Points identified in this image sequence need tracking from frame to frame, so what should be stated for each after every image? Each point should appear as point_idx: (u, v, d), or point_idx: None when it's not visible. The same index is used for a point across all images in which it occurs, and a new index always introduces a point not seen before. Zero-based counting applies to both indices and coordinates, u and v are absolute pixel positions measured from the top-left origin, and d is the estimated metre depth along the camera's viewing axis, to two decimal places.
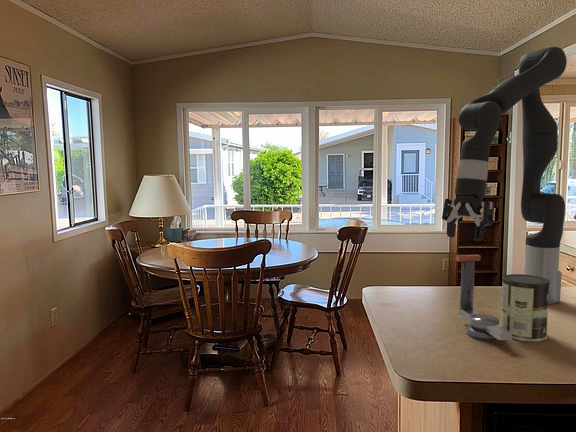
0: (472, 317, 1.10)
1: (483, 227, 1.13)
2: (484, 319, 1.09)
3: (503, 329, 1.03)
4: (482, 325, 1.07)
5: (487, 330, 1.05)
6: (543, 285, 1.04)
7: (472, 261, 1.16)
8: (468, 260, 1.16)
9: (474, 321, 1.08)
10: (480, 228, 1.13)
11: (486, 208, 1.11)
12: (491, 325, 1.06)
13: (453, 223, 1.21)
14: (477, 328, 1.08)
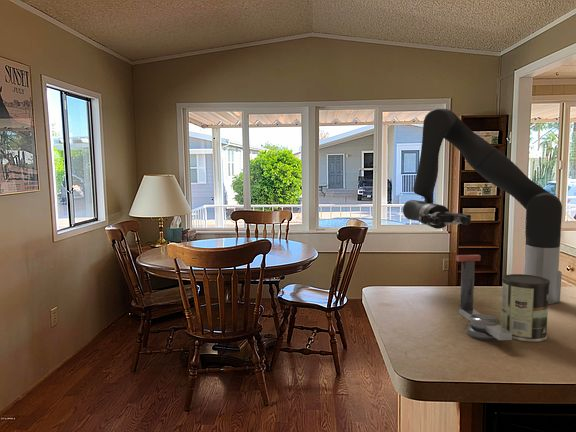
0: (472, 317, 1.10)
1: (430, 219, 1.30)
2: (484, 319, 1.09)
3: (503, 329, 1.03)
4: (482, 325, 1.07)
5: (487, 330, 1.05)
6: (543, 285, 1.04)
7: (472, 261, 1.16)
8: (468, 260, 1.16)
9: (474, 321, 1.08)
10: None
11: (421, 222, 1.35)
12: (491, 325, 1.06)
13: (462, 219, 1.31)
14: (477, 328, 1.08)
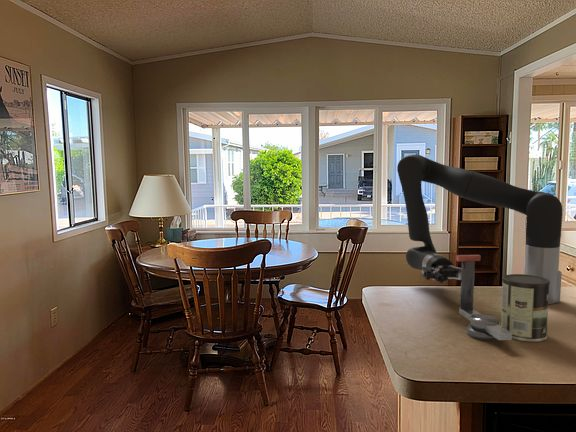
0: (472, 317, 1.10)
1: (433, 275, 1.28)
2: (484, 319, 1.09)
3: (503, 329, 1.03)
4: (482, 325, 1.07)
5: (487, 330, 1.05)
6: (543, 285, 1.04)
7: (472, 261, 1.16)
8: (468, 260, 1.16)
9: (474, 321, 1.08)
10: (434, 278, 1.28)
11: None
12: (491, 325, 1.06)
13: None
14: (477, 328, 1.08)
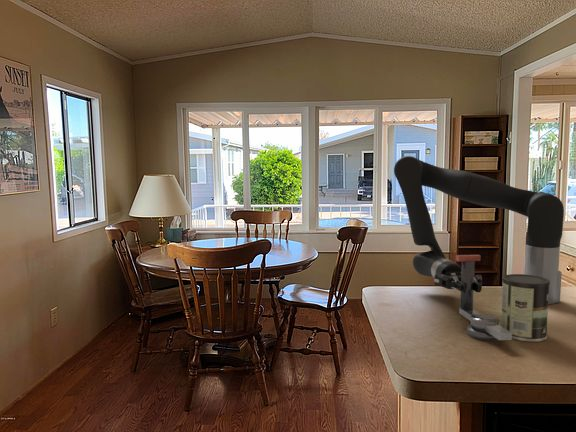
0: (472, 317, 1.10)
1: (454, 284, 1.18)
2: (484, 319, 1.09)
3: (503, 329, 1.03)
4: (482, 325, 1.07)
5: (487, 330, 1.05)
6: (543, 285, 1.04)
7: (472, 261, 1.16)
8: (468, 260, 1.16)
9: (474, 321, 1.08)
10: (456, 287, 1.18)
11: None
12: (491, 325, 1.06)
13: None
14: (477, 328, 1.08)
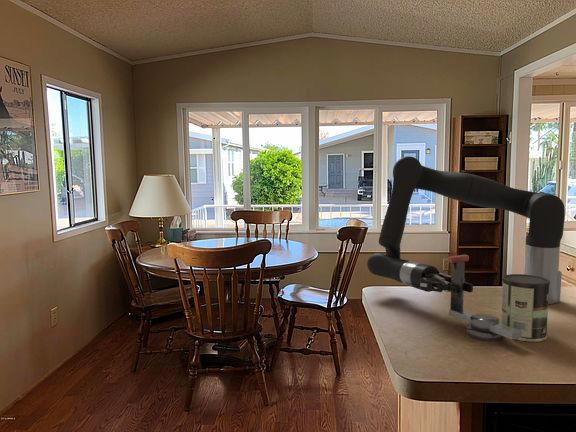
0: (473, 318, 1.09)
1: (446, 287, 1.16)
2: (485, 319, 1.08)
3: (510, 328, 1.04)
4: (487, 326, 1.06)
5: (493, 330, 1.05)
6: (543, 285, 1.04)
7: (463, 261, 1.15)
8: (459, 261, 1.15)
9: (479, 323, 1.07)
10: (448, 290, 1.16)
11: None
12: (496, 325, 1.06)
13: None
14: (482, 329, 1.07)
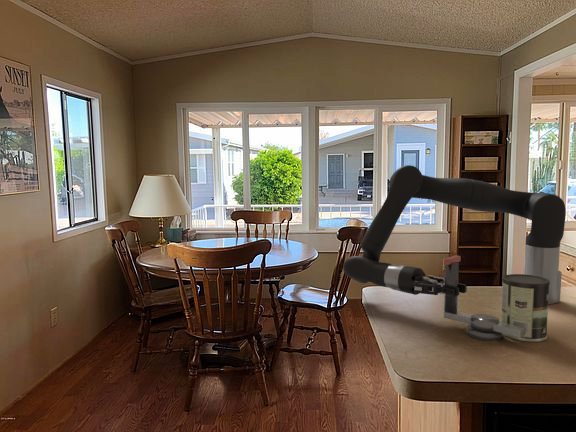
0: (475, 319, 1.08)
1: (442, 289, 1.14)
2: (487, 319, 1.08)
3: (514, 326, 1.05)
4: (491, 326, 1.06)
5: (498, 330, 1.06)
6: (543, 285, 1.04)
7: (457, 262, 1.14)
8: (454, 262, 1.14)
9: (482, 323, 1.07)
10: (444, 292, 1.14)
11: None
12: (499, 324, 1.06)
13: None
14: (486, 330, 1.07)
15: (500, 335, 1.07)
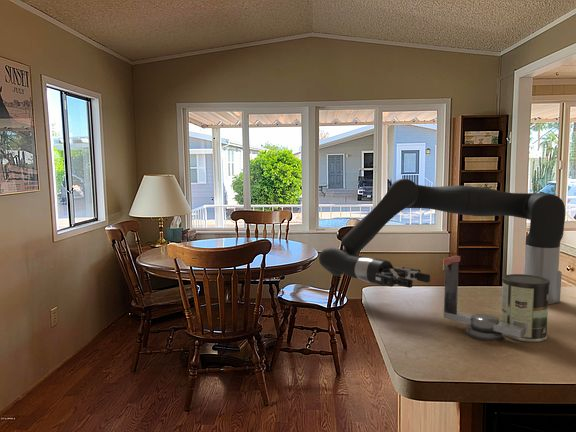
0: (475, 319, 1.08)
1: (397, 281, 1.20)
2: (487, 319, 1.08)
3: (514, 326, 1.05)
4: (491, 326, 1.06)
5: (498, 330, 1.06)
6: (543, 285, 1.04)
7: (457, 262, 1.14)
8: (454, 262, 1.14)
9: (483, 323, 1.07)
10: (399, 284, 1.20)
11: None
12: (499, 324, 1.06)
13: (417, 276, 1.27)
14: (486, 330, 1.07)
15: (500, 335, 1.07)
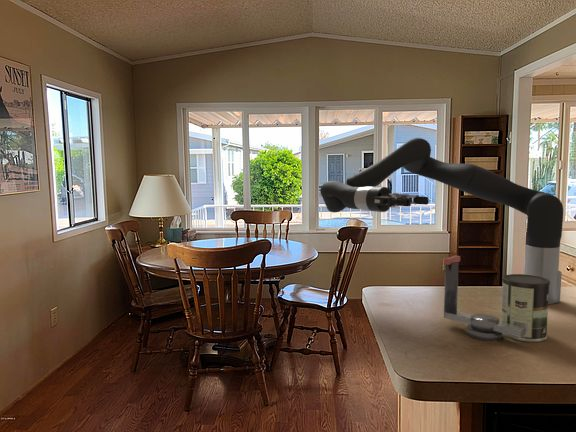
0: (475, 319, 1.08)
1: (396, 201, 1.22)
2: (487, 319, 1.08)
3: (514, 326, 1.05)
4: (491, 326, 1.06)
5: (498, 330, 1.06)
6: (543, 285, 1.04)
7: (457, 262, 1.14)
8: (454, 262, 1.14)
9: (483, 323, 1.07)
10: (398, 204, 1.22)
11: (379, 205, 1.25)
12: (499, 324, 1.06)
13: (415, 199, 1.28)
14: (486, 330, 1.07)
15: (500, 335, 1.07)
